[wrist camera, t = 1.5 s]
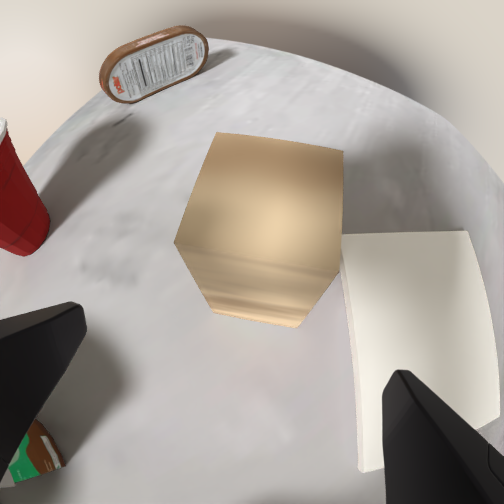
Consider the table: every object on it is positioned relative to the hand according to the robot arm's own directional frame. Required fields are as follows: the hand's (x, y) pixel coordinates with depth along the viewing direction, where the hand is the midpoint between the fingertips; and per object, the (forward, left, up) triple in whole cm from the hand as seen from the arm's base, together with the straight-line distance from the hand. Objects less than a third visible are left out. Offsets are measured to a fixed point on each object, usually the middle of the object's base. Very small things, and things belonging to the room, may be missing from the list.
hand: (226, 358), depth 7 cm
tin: (+34, +10, -13) cm, 38 cm away
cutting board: (0, -15, -13) cm, 19 cm away
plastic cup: (+12, +22, -13) cm, 29 cm away
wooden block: (+6, -2, -13) cm, 14 cm away
